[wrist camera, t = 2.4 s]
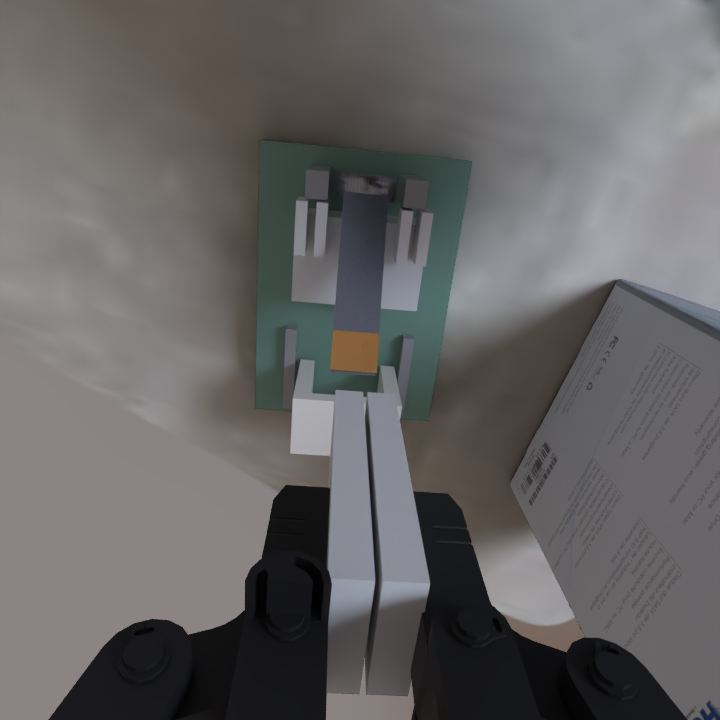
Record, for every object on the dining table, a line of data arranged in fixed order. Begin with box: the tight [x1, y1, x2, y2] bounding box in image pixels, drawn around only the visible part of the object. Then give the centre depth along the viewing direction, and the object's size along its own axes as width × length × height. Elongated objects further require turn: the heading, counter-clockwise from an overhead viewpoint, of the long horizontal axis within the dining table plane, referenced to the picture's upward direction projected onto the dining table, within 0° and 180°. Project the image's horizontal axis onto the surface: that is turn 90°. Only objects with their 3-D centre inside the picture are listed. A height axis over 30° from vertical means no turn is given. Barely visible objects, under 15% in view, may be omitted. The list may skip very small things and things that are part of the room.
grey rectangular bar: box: [330, 171, 396, 376], centre depth 23 cm, size 9×3×1 cm, turn 173°
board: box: [255, 140, 472, 421], centre depth 27 cm, size 15×11×5 cm
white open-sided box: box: [290, 359, 402, 456], centre depth 28 cm, size 3×5×5 cm, turn 85°
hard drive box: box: [510, 279, 720, 720], centre depth 24 cm, size 16×8×20 cm, turn 163°
